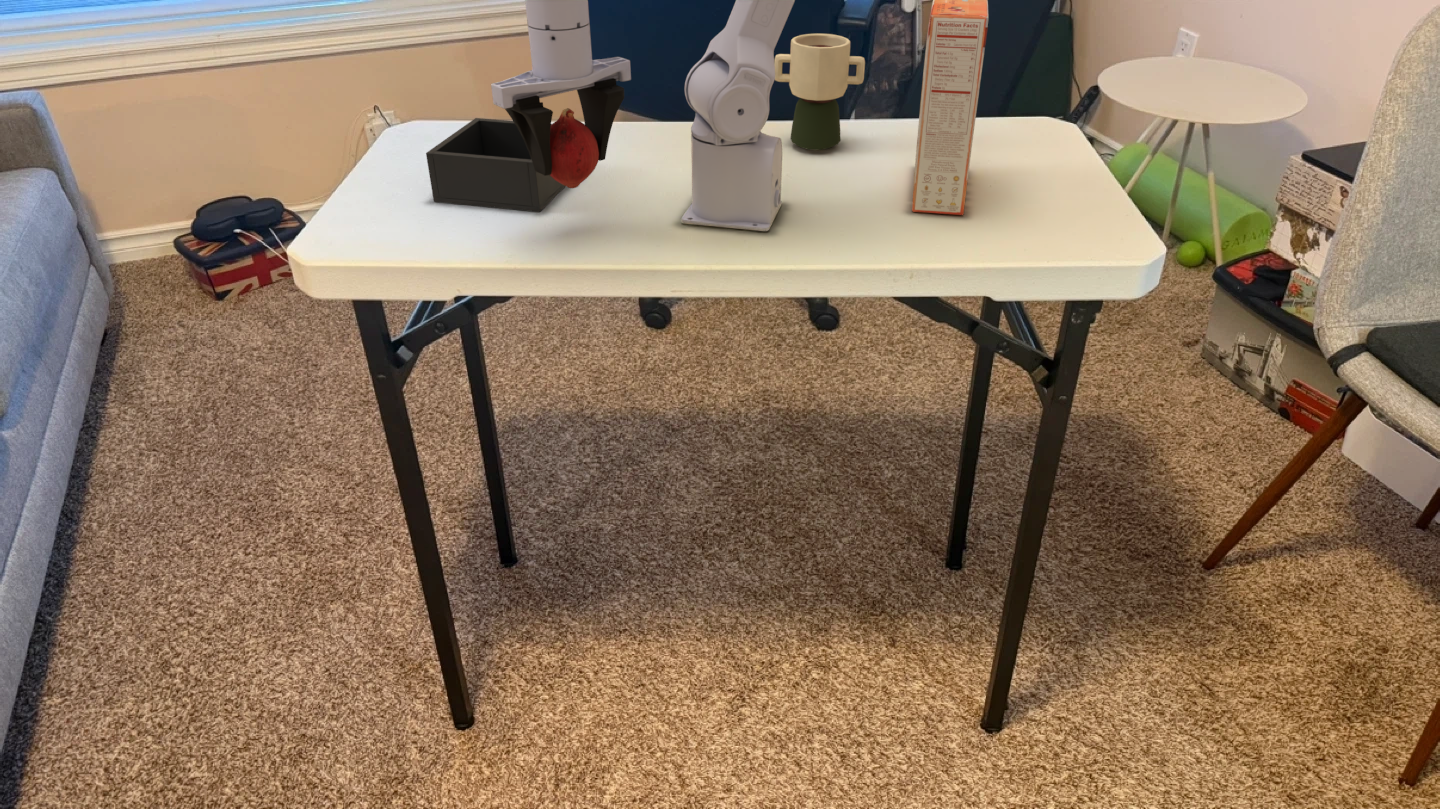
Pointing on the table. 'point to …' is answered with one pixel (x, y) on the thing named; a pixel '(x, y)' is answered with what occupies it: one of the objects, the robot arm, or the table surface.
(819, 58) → the beige and green cup
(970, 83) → the cracker box
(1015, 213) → the table surface
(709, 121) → the robot arm
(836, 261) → the table surface
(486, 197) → the open storage bin
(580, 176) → the onion
